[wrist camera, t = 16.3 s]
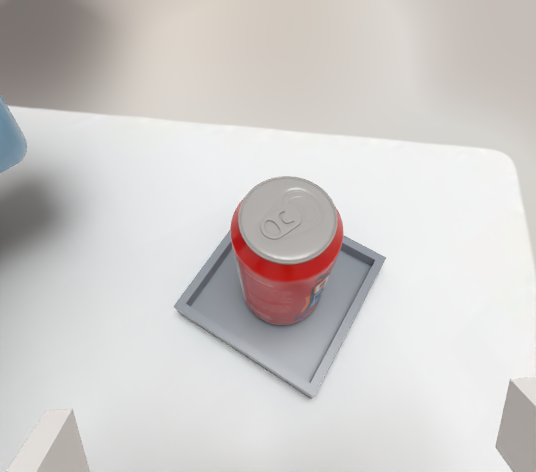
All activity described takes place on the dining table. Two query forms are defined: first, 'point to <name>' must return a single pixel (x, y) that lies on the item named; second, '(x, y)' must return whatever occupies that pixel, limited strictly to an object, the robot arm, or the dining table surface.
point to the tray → (282, 336)
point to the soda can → (285, 247)
